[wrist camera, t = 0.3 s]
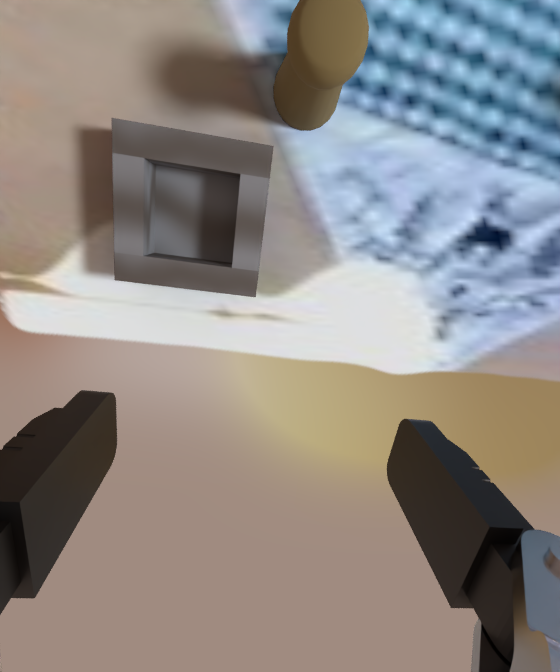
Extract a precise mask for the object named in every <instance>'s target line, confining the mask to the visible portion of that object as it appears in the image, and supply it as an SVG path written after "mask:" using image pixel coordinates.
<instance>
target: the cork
mask: <svg viewBox="0 0 560 672" xmlns="http://www.w3.org/2000/svg"><path fill="white" fill-rule="evenodd" d="M368 31H369V25H368V20H367V15H366V11H365V9H364V7H363V5H362V3H361V1H360V0H300V1H299V2H298V4H297V6H296V8H295V9H294V11H293V13H292V16H291V20H290V23H289V27H288V33H287V50H288V53H287V55H286V56H285V58H284V60H283V62H282V64H281V66H280V68H279V70H278V72H277V74H276V78H275V82H274V86H273V91H274V102H275V105H276V109H277V111H278V113H279V114H280V116H281V117H282V119H283V120H284V121H285V122H286V123H287V124H289V125H290V126H291V127H293V128H296V129H298V130H313V129H316V128H319V127H321V126H322V125H323V124H325V123H326V122H327V121H328V120H329V119H330V117H331V116H332V114H333V113H334V111H335V108H336V105H337V102H338V99H339V95H340V92H341V89H342V86H343V84H344V83H345V82H346V81H348V80H349V79H350V78H351V77H352V76H353V75H354V73H355V72H356V70H357V69H358V67H359V66H360V64H361V63H362V61H363V58H364V55H365V52H366V49H367V44H368Z"/></svg>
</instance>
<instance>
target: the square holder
mask: <svg viewBox="0 0 560 672" xmlns="http://www.w3.org/2000/svg"><path fill="white" fill-rule="evenodd" d="M272 154H273V146H270V145H264V144H258V143H253V142H247V141H241V140H235V139H230V138H224V137H218V136H213V135H207V134H201V133H195V132H190V131H184V130H178V129H173V128H167V127H161V126H155V125H150V124H144V123H138V122H133V121H127V120H121V119H115V118H112V165H113V218H114V270H115V280H119V281H127V282H135V283H143V284H151V285H159V286H168V287H176V288H184V289H192V290H200V291H209V292H217V293H225V294H233V295H241V296H250V297H256V289H257V281H258V272H259V264H260V255H261V247H262V238H263V230H264V221H265V213H266V205H267V196H268V188H269V179H270V171H271V162H272Z"/></svg>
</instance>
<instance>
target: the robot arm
mask: <svg viewBox="0 0 560 672" xmlns="http://www.w3.org/2000/svg"><path fill="white" fill-rule="evenodd" d="M116 447H117V426H116V398H115V395H114V394H113V393H109V392H97V391H85V390H82V391H80V392H79V393H78V394H76V395H75V397H73V398H72V400H71V401H69V402H68V403H67V404H66V406H64V408H54V409H52V410H50V411H48V412H46V413H44V414H42V415H40V416H38V417H36V418H34V419H33V420H31V421H30V422H29V423H28V424H27V425H26V426H25V427H24V428H23V429H22V430H21V431H19V432H18V433H17V436H16V437H13V438H12V439H11V440H10V441H9V442H8V443H6V444H5V445H4V447H3V449H2V450H0V614H1V613H2V611H3V610H4V608H5V606H6V605H7V603H8V602H9V600H10V599H11V598H35V597H36V595H37V593H38V592H39V590H40V588H41V586H42V584H43V583H44V581H45V579H46V578H47V576H48V574H49V573H50V571H51V569H52V567H53V566H54V564H55V562H56V560H57V559H58V557H59V555H60V553H61V552H62V550H63V548H64V547H65V545H66V543H67V541H68V540H69V538H70V536H71V534H72V533H73V531H74V529H75V527H76V526H77V524H78V522H79V521H80V518H81V517H82V515H83V514H84V512H85V510H86V508H87V507H88V505H89V503H90V501H91V500H92V498H93V496H94V495H95V492H96V491H97V489H98V488H99V486H100V484H101V482H102V481H103V479H104V477H105V475H106V474H107V472H108V470H109V469H110V466H111V465H112V462H113V460H114V457H115V453H116ZM387 476H388V481H389V484H390V486H391V488H392V490H393V492H394V494H395V496H396V498H397V500H398V502H399V504H400V506H401V508H402V510H403V512H404V514H405V516H406V518H407V520H408V522H409V524H410V526H411V528H412V530H413V532H414V534H415V536H416V538H417V540H418V542H419V544H420V546H421V548H422V550H423V552H424V554H425V556H426V558H427V560H428V562H429V564H430V566H431V568H432V570H433V572H434V574H435V576H436V578H437V580H438V582H439V584H440V586H441V588H442V590H443V592H444V595H445V597H446V598H447V600H448V603H449V605H450V606H451V608H474V610H475V612H476V614H477V615H478V617H479V619H478V621H477V622H476V624H475V627H474V634H473V650H472V664H471V672H560V537H559V536H557V535H554V534H552V533H549V532H546V531H541V530H535V529H534V528H533V527H532V526H531V525H530V524H529V523H528V522H527V520H526V519H525V518H524V517H523V516H522V515H521V514H520V512H519V511H518V510H517V509H516V508H515V507H514V506H513V505H512V503H511V502H510V501H509V500H508V499H507V498H506V497H505V496H504V494H503V493H502V492H501V491H500V490H499V489H498V488H497V487H496V485H495V484H494V483H491V482H490V479H489V478H488V476H487V475H486V474H485V473H484V472H483V471H482V470H479V466H478V465H477V464H476V463H475V462H474V461H473V460H472V458H471V457H470V456H469V455H468V454H467V453H466V452H465V451H463V450H462V449H461V448H459V447H458V446H457V445H455V444H454V443H452V442H451V441H449V440H447V438H446V437H445V436H444V435H443V434H442V432H441V431H440V430H439V429H438V428H437V427H436V425H435V424H434V423H433V422H431V421H425V420H413V419H404V420H402V421H401V422H400V424H399V427H398V430H397V434H396V436H395V440H394V443H393V446H392V449H391V453H390V456H389V459H388V463H387ZM0 672H2V667H1V656H0Z"/></svg>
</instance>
